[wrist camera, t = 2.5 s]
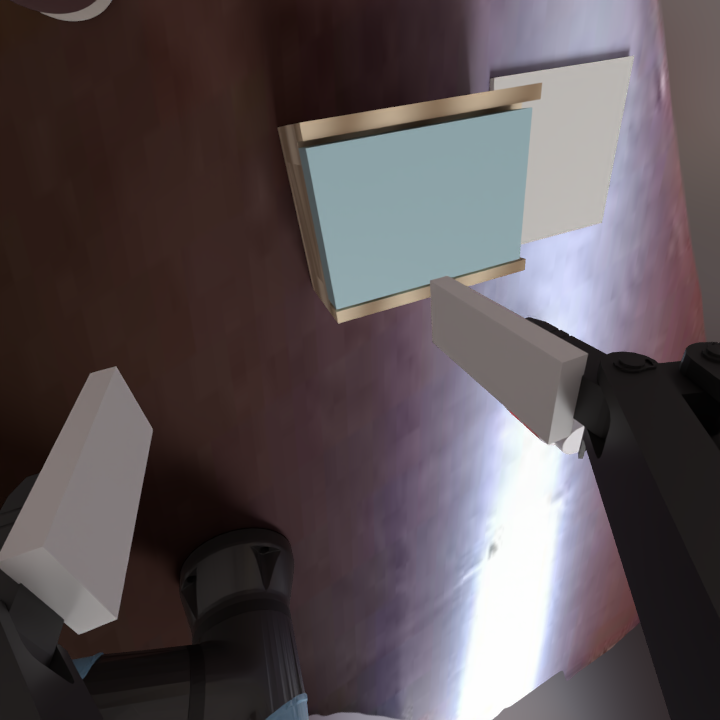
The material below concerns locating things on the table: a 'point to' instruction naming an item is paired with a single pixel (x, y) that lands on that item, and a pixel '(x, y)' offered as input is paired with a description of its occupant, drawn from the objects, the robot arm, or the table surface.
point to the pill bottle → (568, 443)
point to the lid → (417, 203)
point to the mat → (570, 143)
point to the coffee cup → (67, 8)
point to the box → (376, 124)
